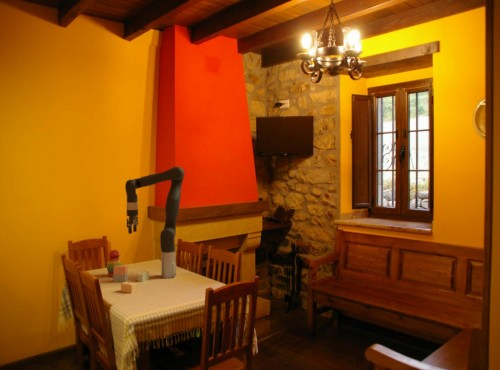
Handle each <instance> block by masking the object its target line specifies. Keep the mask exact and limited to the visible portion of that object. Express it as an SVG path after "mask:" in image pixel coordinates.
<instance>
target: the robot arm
mask: <svg viewBox="0 0 500 370" xmlns="http://www.w3.org/2000/svg"><path fill="white" fill-rule="evenodd" d="M184 177H185V170H184V168H183V167H181V166H173V167H172V168H171V167H170V169H167V170H164V171H162V172H161V171H160V172H157V173H152V174H148V175H145V176H144V175H143V176H141V177H138V178H133V179H128V180H127V181H125V187H124V188H125V195H126V216H127V217H128V218H126V228H127V230H128V234H129V235H131V234H133V233H137V231H138V230H137V229H138V227H137V226H138V225H139V216H138V215H139V204H138V200H139V199H138V194H137V190H138V189H140V188H145V187H149V186H154V185H157V184H159V183H162V182H167V181H171V182H170V183H171V184H170V187H169V190H168V192H167V193H168V194H167V196H166V201H165V209H164V210H165V221H164V226H163V230H161V231H160V237H159V240H160V241H159V243H160V250H161V251H160V252H161V253H160V255H161V257H160V259H161V278H162V279H170V278H172V279H173V278H175V277H176V276H177V261H176V247H175V237H176V231H177V230H176V229H177V219H178V215H179V210H180V206H181V203H180V202H181V195H182V186H183V181H184Z"/></svg>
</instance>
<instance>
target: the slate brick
mask: <svg viewBox="0 0 500 370" xmlns="http://www.w3.org/2000/svg"><path fill="white" fill-rule="evenodd" d="M112 279H113V280H112V281H113V283H123V282H128V273H127V274H126V275H119V274H113V277H112Z"/></svg>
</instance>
